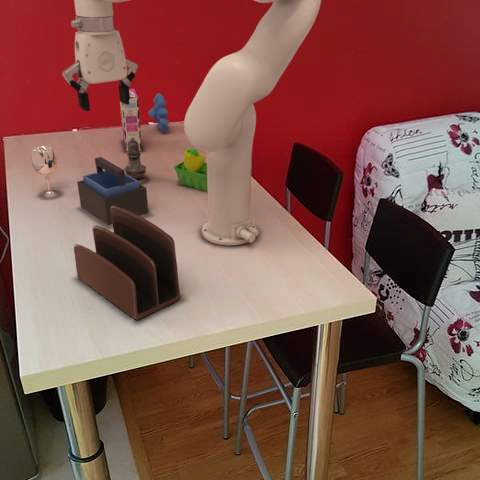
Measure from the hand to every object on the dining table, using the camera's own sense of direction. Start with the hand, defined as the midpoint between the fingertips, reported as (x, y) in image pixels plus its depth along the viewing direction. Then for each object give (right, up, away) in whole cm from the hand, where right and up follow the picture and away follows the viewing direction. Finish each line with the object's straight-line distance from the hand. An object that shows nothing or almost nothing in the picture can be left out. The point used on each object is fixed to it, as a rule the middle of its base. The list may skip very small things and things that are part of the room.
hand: (105, 106), depth 130 cm
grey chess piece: (+1, -13, +27) cm, 29 cm away
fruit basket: (+17, -14, +25) cm, 34 cm away
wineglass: (-19, -18, +16) cm, 31 cm away
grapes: (-1, +10, +64) cm, 65 cm away
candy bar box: (-6, +2, +50) cm, 51 cm away
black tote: (-1, -23, +9) cm, 25 cm away
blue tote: (0, -22, +9) cm, 24 cm away
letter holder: (+10, -41, -19) cm, 46 cm away
